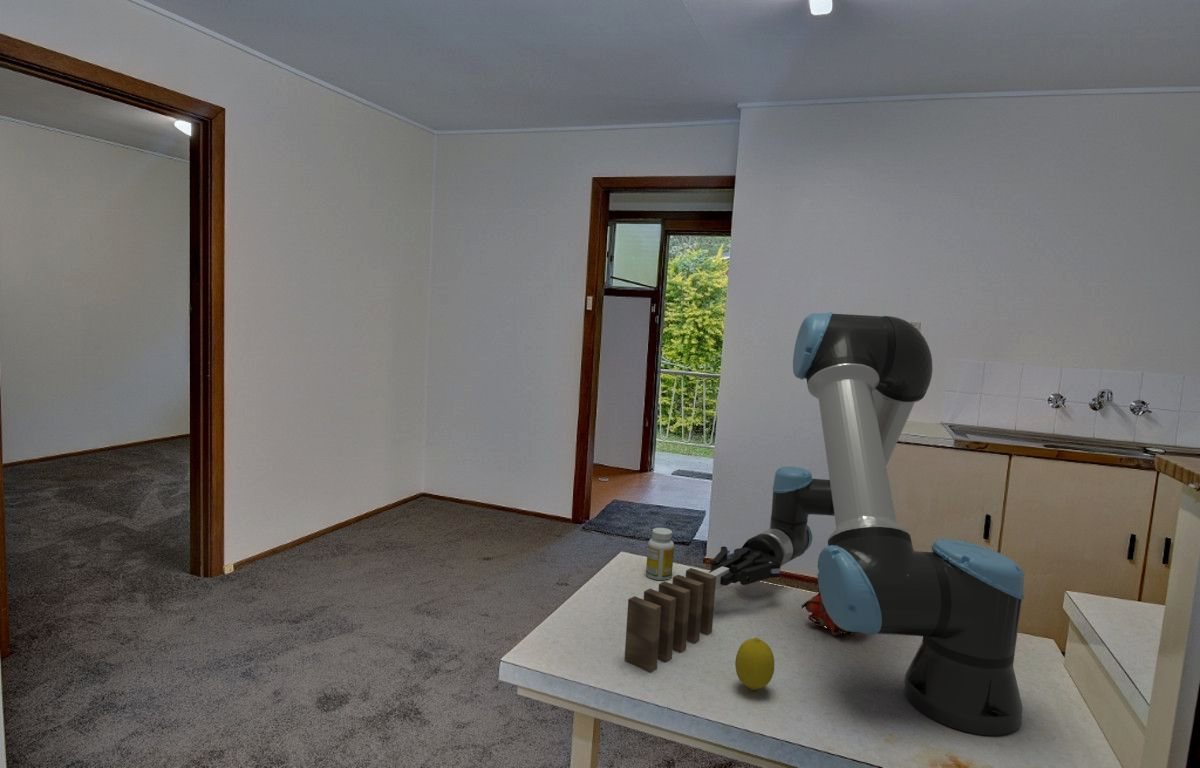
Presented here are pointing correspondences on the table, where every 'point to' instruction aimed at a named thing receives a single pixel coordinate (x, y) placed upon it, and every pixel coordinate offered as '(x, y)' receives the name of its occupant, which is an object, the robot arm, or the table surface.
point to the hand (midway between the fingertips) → (707, 584)
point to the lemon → (754, 663)
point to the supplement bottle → (660, 554)
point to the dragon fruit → (822, 615)
